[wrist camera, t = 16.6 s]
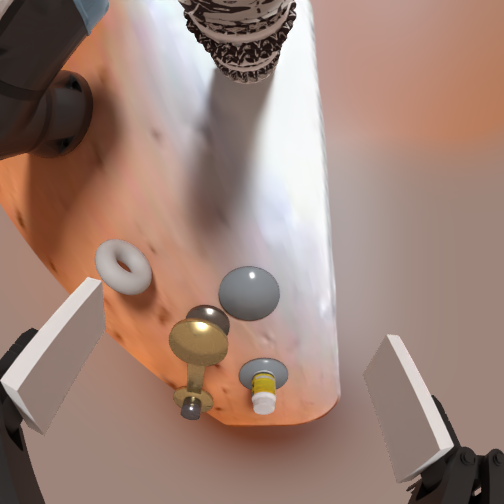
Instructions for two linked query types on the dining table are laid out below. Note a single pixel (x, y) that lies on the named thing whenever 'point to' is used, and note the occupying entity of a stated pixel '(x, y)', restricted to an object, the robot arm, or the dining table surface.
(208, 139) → the dining table surface
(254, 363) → the dish low
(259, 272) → the glossy grey puck
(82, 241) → the dining table surface
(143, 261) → the donut
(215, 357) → the balance
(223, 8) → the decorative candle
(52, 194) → the dining table surface
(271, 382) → the supplement bottle
